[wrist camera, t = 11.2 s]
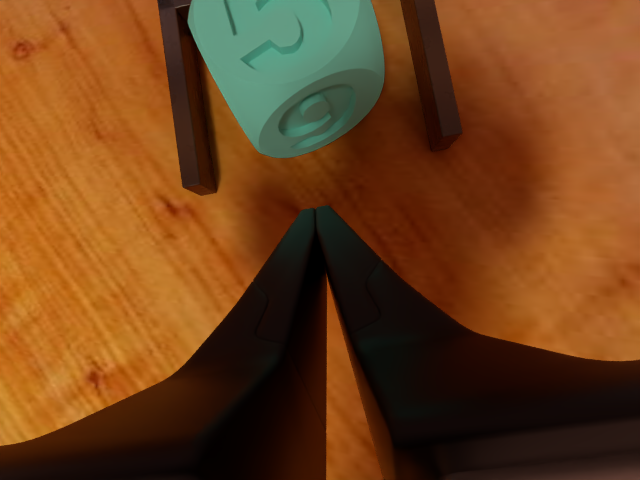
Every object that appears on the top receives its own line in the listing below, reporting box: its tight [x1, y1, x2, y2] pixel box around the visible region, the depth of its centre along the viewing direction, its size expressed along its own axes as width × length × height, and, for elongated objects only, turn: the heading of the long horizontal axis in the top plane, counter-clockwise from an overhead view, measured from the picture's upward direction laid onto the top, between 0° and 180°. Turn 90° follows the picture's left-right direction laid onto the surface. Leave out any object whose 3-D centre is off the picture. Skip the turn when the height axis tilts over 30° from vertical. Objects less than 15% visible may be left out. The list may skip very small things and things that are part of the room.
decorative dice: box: [188, 0, 385, 158], centre depth 18 cm, size 8×8×8 cm
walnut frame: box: [157, 0, 462, 196], centre depth 21 cm, size 13×17×2 cm
